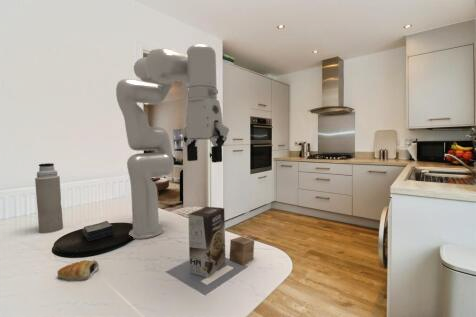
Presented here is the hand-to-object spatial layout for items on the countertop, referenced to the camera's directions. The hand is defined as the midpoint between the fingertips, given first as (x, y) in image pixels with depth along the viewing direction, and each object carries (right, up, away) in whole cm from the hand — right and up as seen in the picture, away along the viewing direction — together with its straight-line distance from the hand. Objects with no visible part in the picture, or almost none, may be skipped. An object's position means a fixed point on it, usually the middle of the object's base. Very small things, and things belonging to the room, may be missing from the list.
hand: (204, 161), depth 64 cm
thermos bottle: (-70, -30, +37) cm, 84 cm away
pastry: (-34, -31, +1) cm, 46 cm away
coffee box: (+1, -30, +3) cm, 30 cm away
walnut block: (+10, -29, +7) cm, 32 cm away
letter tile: (+1, -30, +2) cm, 30 cm away
